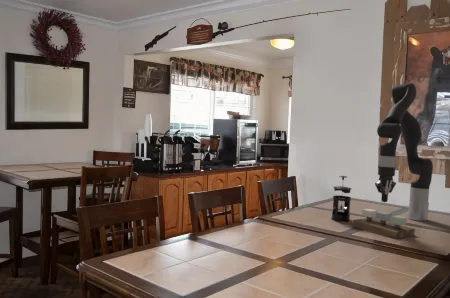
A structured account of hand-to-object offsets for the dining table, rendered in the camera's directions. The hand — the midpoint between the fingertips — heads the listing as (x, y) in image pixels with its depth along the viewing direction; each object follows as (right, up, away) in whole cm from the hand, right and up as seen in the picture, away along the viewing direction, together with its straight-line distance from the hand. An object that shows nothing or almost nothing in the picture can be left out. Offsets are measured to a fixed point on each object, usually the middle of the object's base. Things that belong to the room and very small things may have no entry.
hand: (384, 201), depth 199 cm
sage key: (+4, -12, -6) cm, 14 cm away
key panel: (-1, -14, +1) cm, 14 cm away
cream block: (-5, -11, +8) cm, 14 cm away
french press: (-15, -12, +20) cm, 28 cm away
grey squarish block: (0, -11, +1) cm, 11 cm away
